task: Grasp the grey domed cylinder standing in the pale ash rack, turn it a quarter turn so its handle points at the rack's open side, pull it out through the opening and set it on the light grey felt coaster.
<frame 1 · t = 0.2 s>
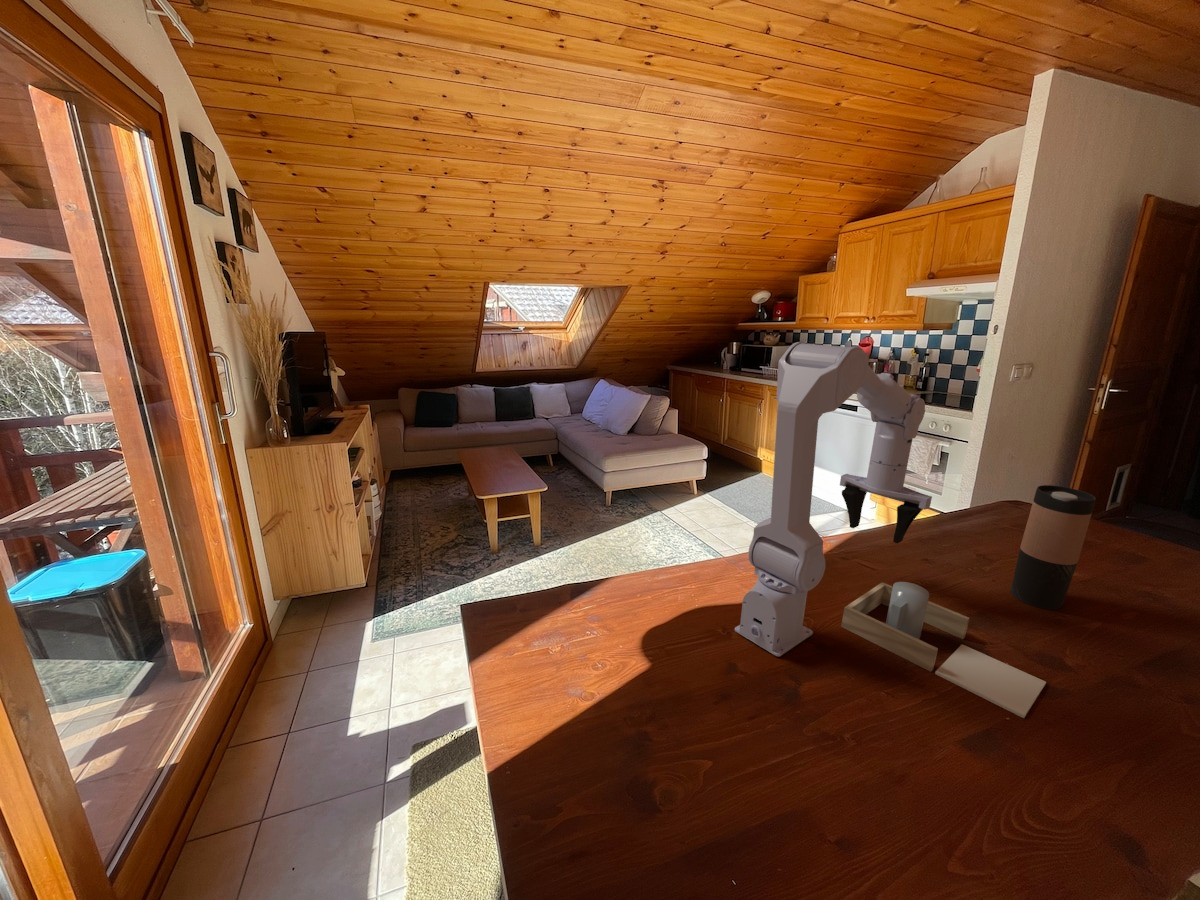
hand: (875, 533, 92), 10 cm above the table, tool pointing down, fingers open, 7 cm apart
rack: (902, 632, 81), on the table
grey domed cylinder: (903, 613, 79), in the rack
travel mug: (1035, 599, 91), on the table
coaster: (989, 679, 71), on the table
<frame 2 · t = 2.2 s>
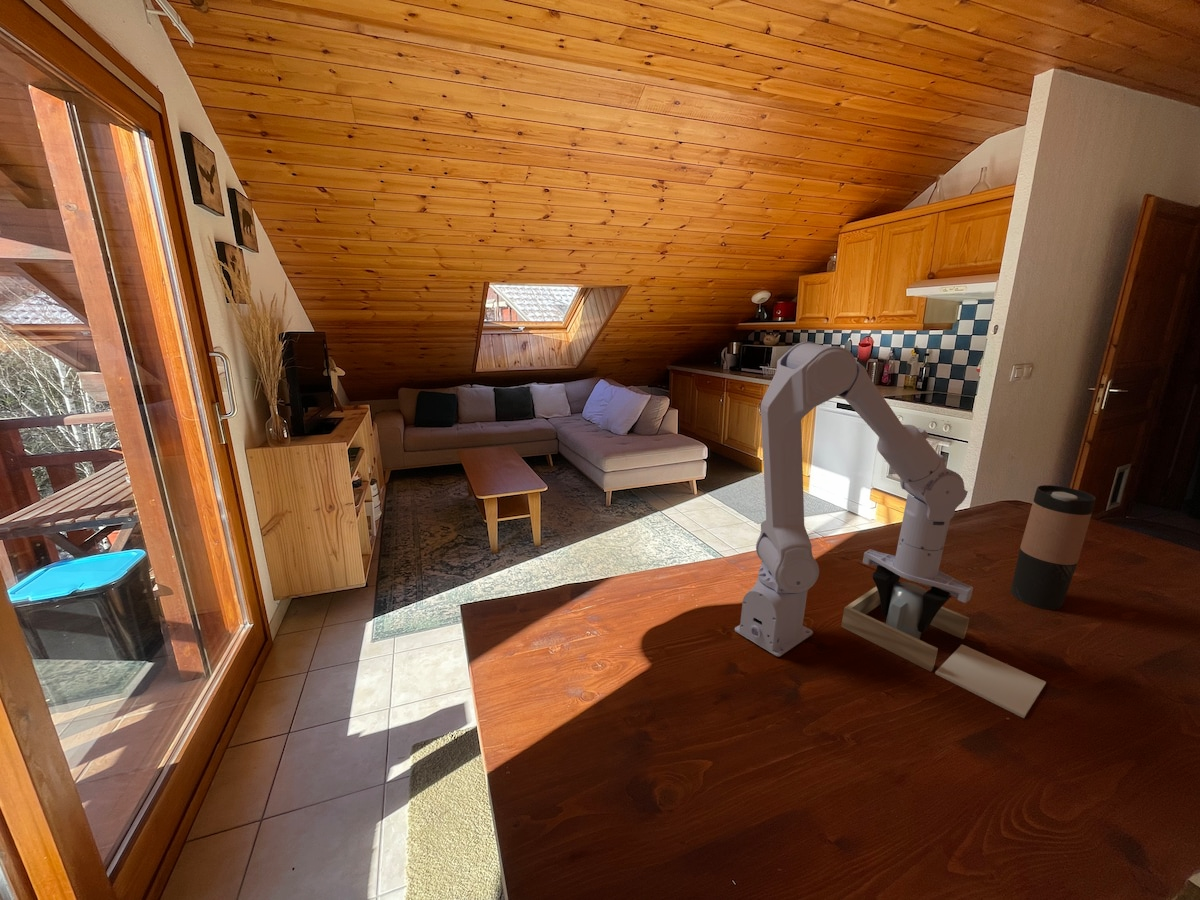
hand: (904, 621, 80), 2 cm above the table, tool pointing down, fingers closed on grey domed cylinder, 5 cm apart
grey domed cylinder: (903, 613, 79), in the rack, touching gripper
everything else where it was.
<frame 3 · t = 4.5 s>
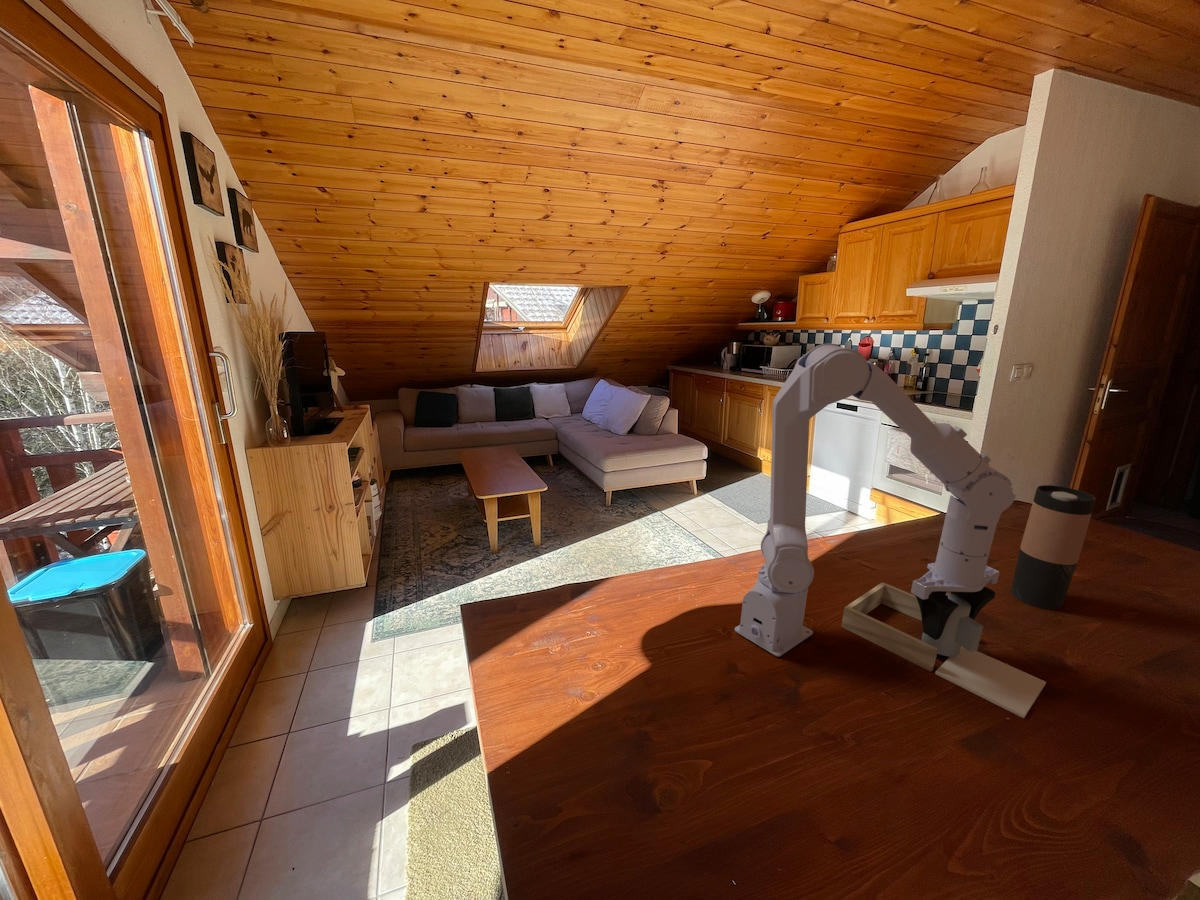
hand: (944, 632, 75), 3 cm above the table, tool pointing down, fingers closed on grey domed cylinder, 5 cm apart
grey domed cylinder: (952, 628, 74), point 5 cm above the table, touching gripper
everything else where it was.
when the fingers open (3 cm above the table, at t = 7.0 s): grey domed cylinder stays where it is, resting on coaster.
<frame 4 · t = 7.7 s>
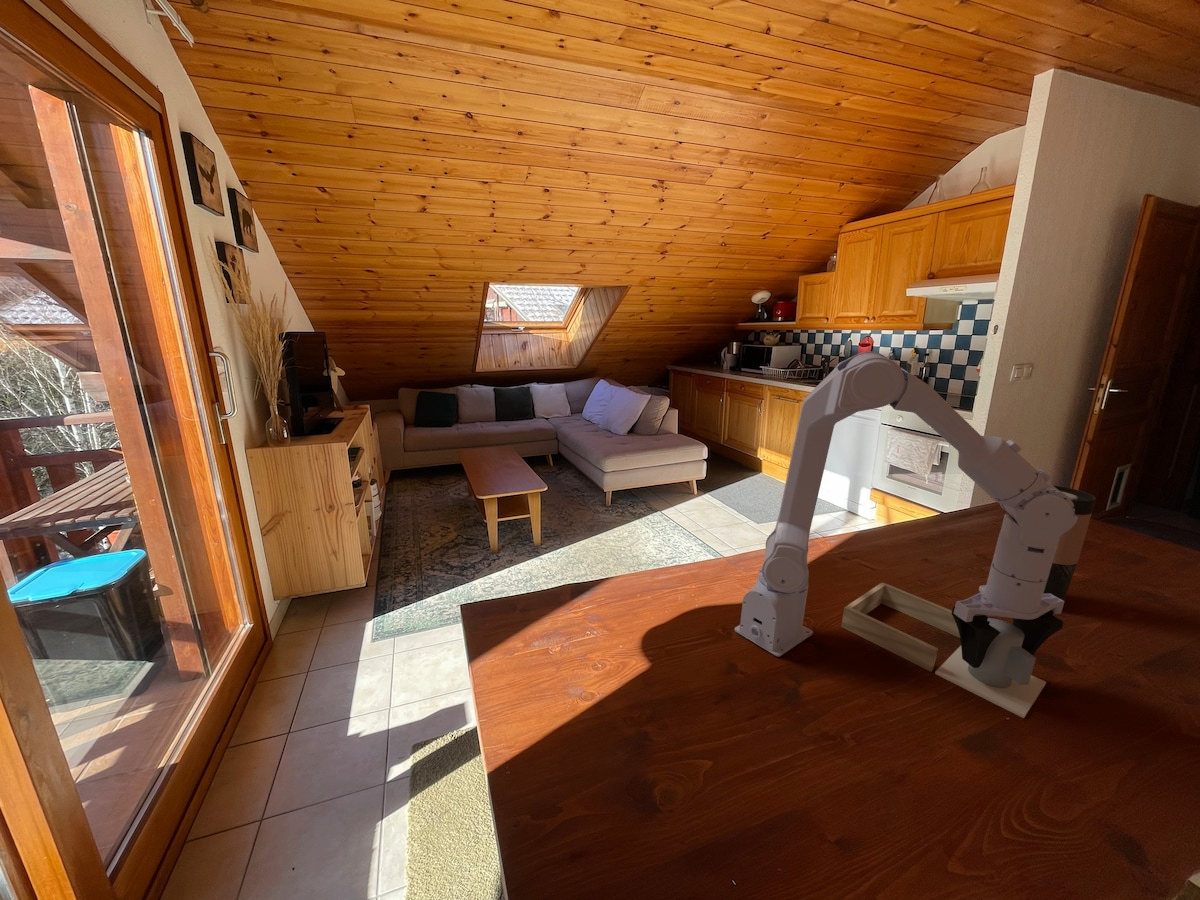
hand: (994, 660, 70), 3 cm above the table, tool pointing down, fingers open, 7 cm apart
grey domed cylinder: (1002, 658, 69), on the coaster
everything else where it was.
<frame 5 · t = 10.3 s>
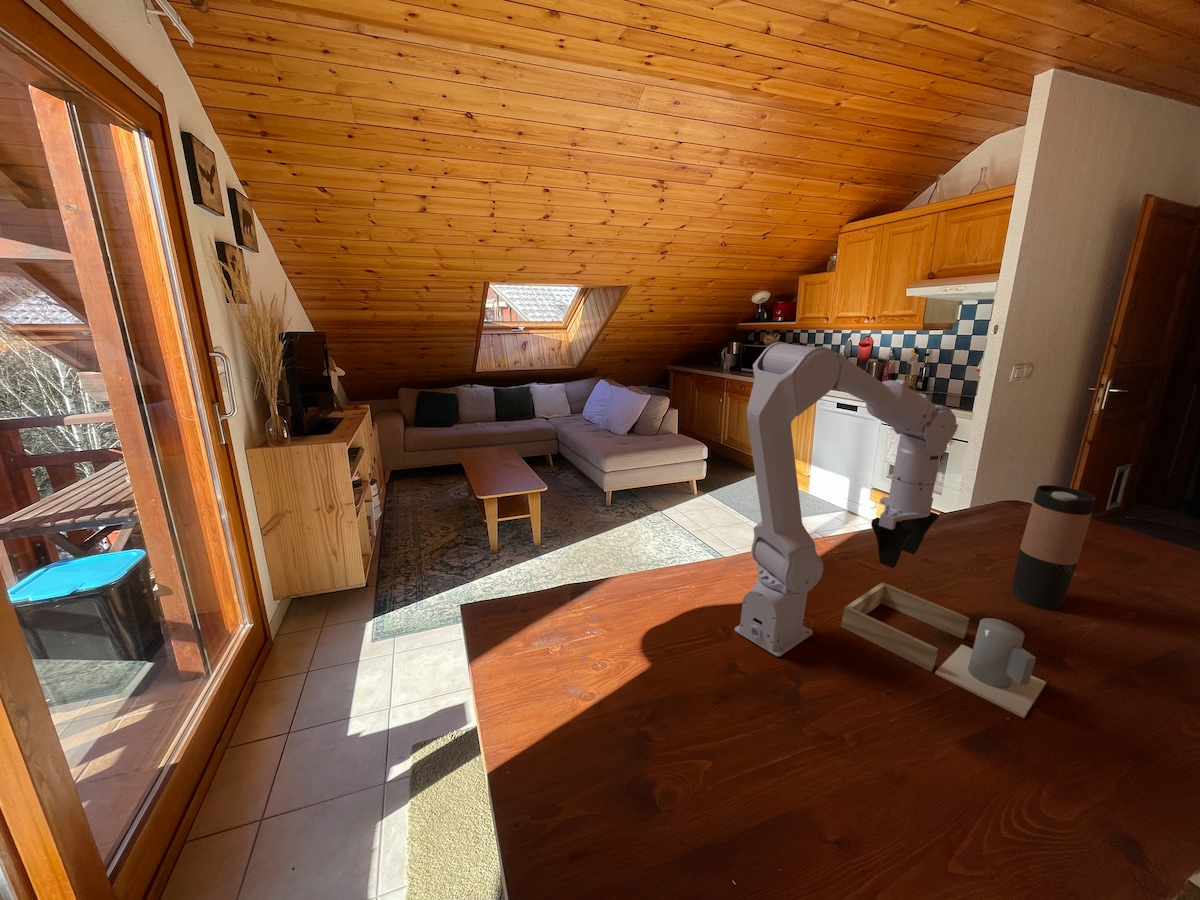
hand: (897, 558, 83), 10 cm above the table, tool pointing down, fingers open, 7 cm apart
nothing on the table moved.
at the end: grey domed cylinder inside the target area on the coaster (0.2 cm from its centre), point 4.1 cm above the coaster's base; grey domed cylinder tilted 0°; the gripper is holding nothing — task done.
